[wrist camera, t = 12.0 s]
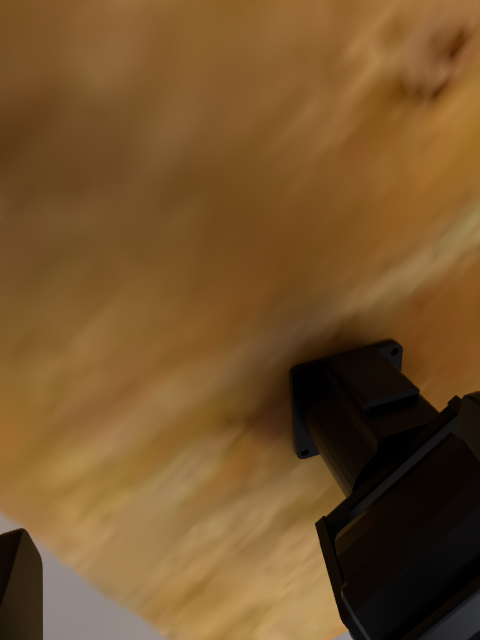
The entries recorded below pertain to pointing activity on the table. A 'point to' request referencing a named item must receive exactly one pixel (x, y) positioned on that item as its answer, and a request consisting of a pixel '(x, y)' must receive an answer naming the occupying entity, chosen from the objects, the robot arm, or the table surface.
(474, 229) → the table surface
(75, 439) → the table surface
